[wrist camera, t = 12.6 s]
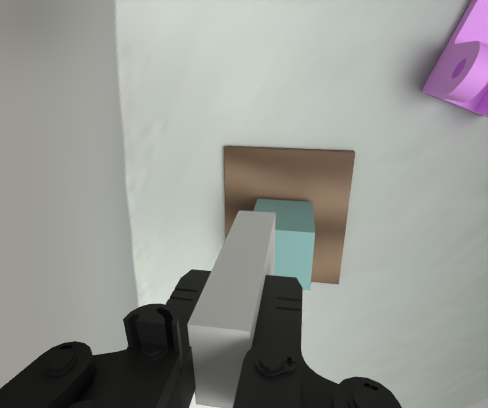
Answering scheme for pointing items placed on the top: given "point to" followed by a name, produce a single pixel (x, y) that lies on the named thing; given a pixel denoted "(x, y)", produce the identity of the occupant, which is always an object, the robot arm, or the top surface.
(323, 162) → the brown square panel
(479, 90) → the bracket
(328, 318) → the top surface
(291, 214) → the teal rectangular block
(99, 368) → the robot arm
